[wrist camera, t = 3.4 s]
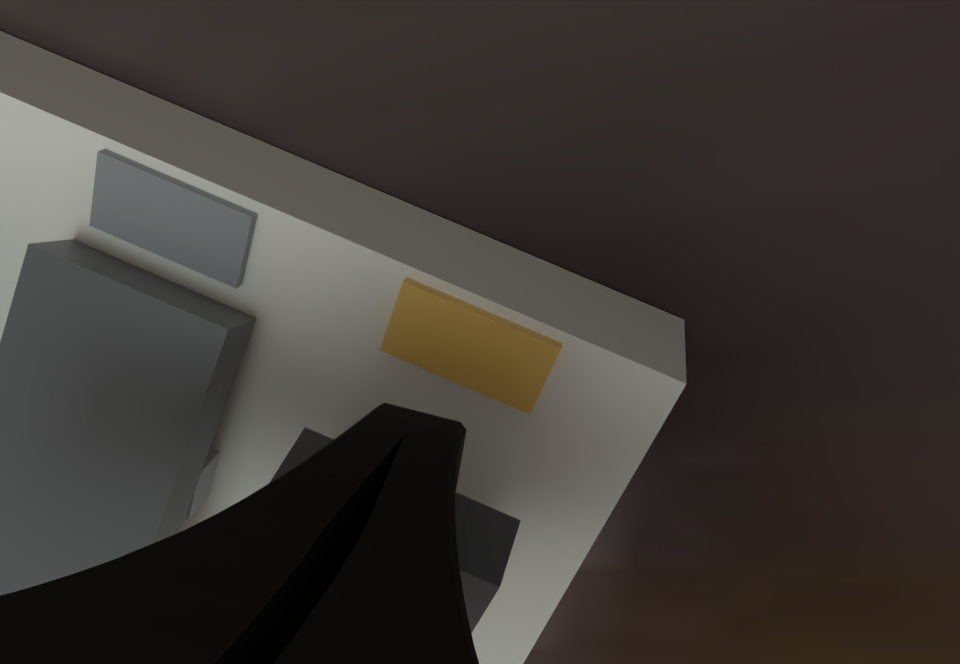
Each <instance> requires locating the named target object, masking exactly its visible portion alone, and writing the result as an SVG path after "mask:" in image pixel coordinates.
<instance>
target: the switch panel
mask: <svg viewBox="0 0 960 664" xmlns="http://www.w3.org/2000/svg"><path fill="white" fill-rule="evenodd" d="M69 239H74V240H76V241H78V242H81V243H83V244H85V245H88V246H90V247H92V248H95V249H97V250H99V251H102V252H104V253H106V254H108V255H111V256H113V257H115V258H118V259H120V260H122V261H125V262H127V263H129V264H132V265H134V266H136V267H139V268H141V269H143V270H146V271H148V272H150V273H153V274H155V275H157V276H160V277H162V278H164V279H167V280H169V281H171V282H174V283H176V284H178V285H181V286H183V287H185V288H188V289H190V290H192V291H195V292H197V293H199V294H202V295H204V296H206V297H209V298H211V299H213V300H216V301H218V302H220V303H223V304H225V305H227V306H230V307H232V308H234V309H237V310H239V311H241V312H244V313H246V314H248V315H251V316H253V317H255V318H256V320H255V323H254V326H253V329H252V331H251V334H250V337H249V340H248V343H247V346H246V348H245V351H244V354H243V357H242V360H241V362H240V365H239V368H238V371H237V374H236V376H235V379H234V382H233V385H232V388H231V391H230V393H229V396H228V399H227V402H226V405H225V407H224V410H223V413H222V416H221V419H220V421H219V424H218V427H217V430H216V433H215V436H214V438H213V441H212V444H211V447H210V450H209V452H208V455H207V458H206V461H205V464H204V466H203V469H202V472H201V475H200V478H199V481H198V483H197V486H196V489H195V492H194V495H193V497H192V500H191V503H190V506H189V509H188V511H187V514H186V517H185V520H184V523H183V526H182V528H181V531H183V530H185V529H187V528H189V527H191V526H193V525H195V524H197V523H199V522H201V521H203V520H205V519H207V518H209V517H211V516H213V515H215V514H217V513H219V512H221V511H223V510H225V509H226V508H228V507H230V506H232V505H234V504H235V503H237V502H239V501H241V500H242V499H244V498H246V497H248V496H249V495H251V494H252V493H254V492H256V491H257V490H259V489H261V488H262V487H264V486H266V485H267V484H269V483H270V481H271V480H272V478H273V476H274V475H275V473H276V472H277V470H278V468H279V467H280V465H281V464H282V462H283V461H284V459H285V457H286V456H287V454H288V453H289V451H290V450H291V448H292V446H293V445H294V443H295V442H296V440H297V439H298V437H299V435H300V434H301V432H302V431H303V429H304V428H305V427H306V428H309V429H311V430H313V431H315V432H318V433H320V434H322V435H325V436H327V437H329V438H332V439H335V438H337V437H338V436H339V435H341V434H342V433H343V432H345V431H346V430H347V429H349V428H350V427H351V426H353V425H354V424H355V423H357V422H358V421H359V420H360V419H362V418H363V417H364V416H366V415H367V414H368V413H369V412H371V411H372V410H373V409H375V408H376V407H377V406H379V405H381V404H383V403H388V404H392V405H396V406H400V407H404V408H408V409H412V410H416V411H420V412H424V413H428V414H431V415H435V416H439V417H443V418H447V419H451V420H455V421H459V422H461V423H462V424H463V426H464V427H465V429H466V436H465V442H464V447H463V453H462V459H461V464H460V470H459V476H458V482H457V487H456V493H459V494H461V495H463V496H466V497H468V498H470V499H473V500H475V501H477V502H480V503H482V504H484V505H486V506H489V507H491V508H493V509H496V510H498V511H500V512H503V513H505V514H507V515H510V516H512V517H514V518H517V519H519V520H521V521H520V524H519V527H518V531H517V534H516V537H515V540H514V544H513V547H512V550H511V553H510V556H509V560H508V563H507V566H506V569H505V572H504V576H503V579H502V582H501V585H500V588H499V589H498V591H497V593H496V594H495V596H494V598H493V599H492V601H491V602H490V604H489V606H488V607H487V609H486V611H485V612H484V614H483V615H482V617H481V619H480V620H479V622H478V624H477V625H476V627H475V628H474V630H473V632H472V633H471V634H472V639H473V643H474V647H475V651H476V654H477V658H478V661H479V664H523V663H524V661H525V660H526V658H527V656H528V655H529V653H530V651H531V649H532V648H533V646H534V644H535V643H536V641H537V639H538V637H539V636H540V634H541V632H542V631H543V629H544V627H545V625H546V624H547V622H548V620H549V619H550V617H551V615H552V613H553V612H554V610H555V608H556V607H557V605H558V603H559V601H560V600H561V598H562V596H563V595H564V593H565V591H566V589H567V588H568V586H569V584H570V583H571V581H572V579H573V577H574V576H575V574H576V572H577V571H578V569H579V567H580V566H581V564H582V562H583V560H584V559H585V557H586V555H587V554H588V552H589V550H590V548H591V547H592V545H593V543H594V542H595V540H596V538H597V536H598V535H599V533H600V531H601V530H602V528H603V526H604V524H605V523H606V521H607V519H608V518H609V516H610V514H611V512H612V511H613V509H614V507H615V506H616V504H617V502H618V500H619V499H620V497H621V495H622V494H623V492H624V490H625V488H626V487H627V485H628V483H629V482H630V480H631V478H632V476H633V475H634V473H635V471H636V470H637V468H638V466H639V464H640V463H641V461H642V459H643V458H644V456H645V454H646V452H647V451H648V449H649V447H650V446H651V444H652V442H653V440H654V439H655V437H656V435H657V434H658V432H659V430H660V429H661V427H662V425H663V423H664V422H665V420H666V418H667V417H668V415H669V413H670V411H671V410H672V408H673V406H674V405H675V403H676V401H677V399H678V398H679V396H680V394H681V393H682V391H683V389H684V387H685V386H686V384H687V383H686V355H685V327H684V319H681V318H679V317H677V316H674V315H672V314H670V313H667V312H665V311H663V310H660V309H658V308H655V307H653V306H651V305H648V304H646V303H644V302H641V301H639V300H636V299H634V298H632V297H629V296H627V295H625V294H622V293H620V292H618V291H615V290H613V289H610V288H608V287H606V286H603V285H601V284H599V283H596V282H594V281H592V280H589V279H587V278H584V277H582V276H580V275H577V274H575V273H573V272H570V271H568V270H565V269H563V268H561V267H558V266H556V265H554V264H551V263H549V262H547V261H544V260H542V259H539V258H537V257H535V256H532V255H530V254H528V253H525V252H523V251H521V250H518V249H516V248H513V247H511V246H509V245H506V244H504V243H502V242H499V241H497V240H494V239H492V238H490V237H487V236H485V235H483V234H480V233H478V232H476V231H473V230H471V229H468V228H466V227H464V226H461V225H459V224H457V223H454V222H452V221H450V220H447V219H445V218H442V217H440V216H438V215H435V214H433V213H431V212H428V211H426V210H423V209H421V208H419V207H416V206H414V205H412V204H409V203H407V202H405V201H402V200H400V199H397V198H395V197H393V196H390V195H388V194H386V193H383V192H381V191H379V190H376V189H374V188H371V187H369V186H367V185H364V184H362V183H360V182H357V181H355V180H352V179H350V178H348V177H345V176H343V175H341V174H338V173H336V172H334V171H331V170H329V169H326V168H324V167H322V166H319V165H317V164H315V163H312V162H310V161H308V160H305V159H303V158H300V157H298V156H296V155H293V154H291V153H289V152H286V151H284V150H281V149H279V148H277V147H274V146H272V145H270V144H267V143H265V142H263V141H260V140H258V139H255V138H253V137H251V136H248V135H246V134H244V133H241V132H239V131H237V130H234V129H232V128H229V127H227V126H225V125H222V124H220V123H218V122H215V121H213V120H210V119H208V118H206V117H203V116H201V115H199V114H196V113H194V112H192V111H189V110H187V109H184V108H182V107H180V106H177V105H175V104H173V103H170V102H168V101H166V100H163V99H161V98H158V97H156V96H154V95H151V94H149V93H147V92H144V91H142V90H139V89H137V88H135V87H132V86H130V85H128V84H125V83H123V82H121V81H118V80H116V79H113V78H111V77H109V76H106V75H104V74H102V73H99V72H97V71H95V70H92V69H90V68H87V67H85V66H83V65H80V64H78V63H76V62H73V61H71V60H68V59H66V58H64V57H61V56H59V55H57V54H54V53H52V52H50V51H47V50H45V49H42V48H40V47H38V46H35V45H33V44H31V43H28V42H26V41H24V40H21V39H19V38H16V37H14V36H12V35H9V34H7V33H5V32H2V31H0V341H1V338H2V334H3V331H4V327H5V324H6V320H7V317H8V313H9V310H10V306H11V303H12V299H13V296H14V292H15V289H16V285H17V282H18V278H19V275H20V271H21V268H22V264H23V261H24V257H25V254H26V250H27V247H28V244H29V243H39V242H49V241H59V240H69ZM181 531H180V532H181Z"/></svg>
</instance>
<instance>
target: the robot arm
mask: <svg viewBox="0 0 960 664" xmlns="http://www.w3.org/2000/svg"><path fill="white" fill-rule="evenodd" d="M465 436H466V429H465V427H464V426H463V424H462V423H461V422H459V421H455V420H451V419H447V418H443V417H439V416H435V415H431V414H428V413H424V412H420V411H416V410H412V409H408V408H404V407H400V406H396V405H392V404H388V403H383V404H381V405H379V406H377V407H376V408H375V409H373V410H372V411H371V412H369V413H368V414H367V415H366V416H364V417H363V418H362V419H360V420H359V421H358V422H357V423H355V424H354V425H353V426H351V427H350V428H349V429H347V430H346V431H345V432H343V433H342V434H341V435H339V436H338V437H337V438H335V439H334V440H333V441H331V442H330V443H329V444H327V445H326V446H324V447H323V448H321V449H320V450H319V451H317V452H316V453H314V454H313V455H311V456H310V457H309V458H307V459H306V460H304V461H303V462H301V463H300V464H298V465H297V466H296V467H294V468H293V469H291V470H290V471H288V472H287V473H285V474H283V475H282V476H280V477H279V478H277V479H275V480H274V481H272V482H270V483H269V484H267V485H266V486H264V487H262V488H261V489H259V490H257V491H256V492H254V493H252V494H251V495H249V496H248V497H246V498H244V499H242V500H241V501H239V502H237V503H235V504H234V505H232V506H230V507H228V508H226V509H225V510H223V511H221V512H219V513H217V514H215V515H213V516H211V517H209V518H207V519H205V520H203V521H201V522H199V523H197V524H195V525H193V526H191V527H189V528H187V529H185V530H183V531H181V532H179V533H177V534H174V535H172V536H170V537H167V538H165V539H162V540H160V541H158V542H155V543H153V544H150V545H148V546H145V547H143V548H141V549H138V550H136V551H133V552H131V553H128V554H126V555H124V556H121V557H119V558H116V559H114V560H111V561H108V562H106V563H103V564H100V565H97V566H94V567H91V568H88V569H86V570H83V571H80V572H77V573H74V574H71V575H68V576H65V577H61V578H58V579H55V580H52V581H49V582H46V583H43V584H39V585H36V586H33V587H29V588H26V589H22V590H19V591H16V592H12V593H8V594H4V595H0V664H479V661H478V658H477V654H476V651H475V647H474V643H473V639H472V634H471V629H470V625H469V620H468V616H467V611H466V605H465V600H464V594H463V589H462V582H461V576H460V568H459V560H458V550H457V539H456V524H455V492H456V487H457V482H458V476H459V470H460V464H461V459H462V453H463V447H464V442H465Z"/></svg>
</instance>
